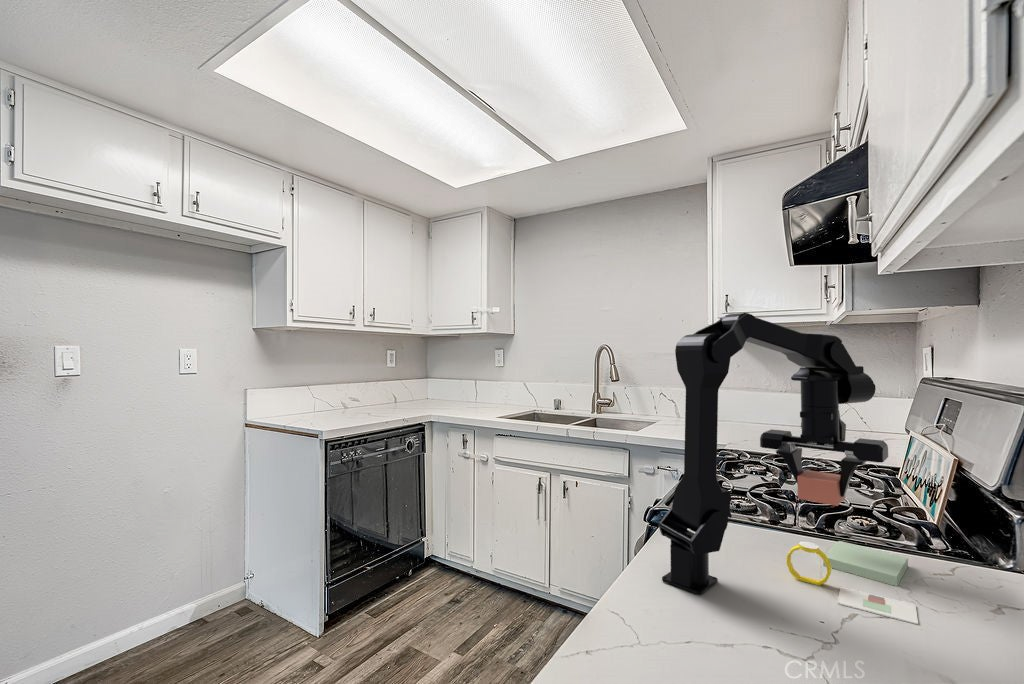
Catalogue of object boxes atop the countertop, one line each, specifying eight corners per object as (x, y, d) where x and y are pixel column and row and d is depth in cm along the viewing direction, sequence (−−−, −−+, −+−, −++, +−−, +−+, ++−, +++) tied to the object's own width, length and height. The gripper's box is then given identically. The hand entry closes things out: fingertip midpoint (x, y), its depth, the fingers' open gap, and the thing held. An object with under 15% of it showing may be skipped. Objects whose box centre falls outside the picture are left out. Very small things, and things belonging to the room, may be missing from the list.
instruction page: (918, 624, 65) (918, 623, 65) (837, 603, 71) (837, 602, 71) (915, 605, 70) (915, 604, 70) (840, 587, 75) (840, 586, 75)
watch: (830, 585, 77) (833, 548, 77) (828, 592, 75) (830, 554, 75) (788, 571, 81) (790, 536, 81) (784, 577, 79) (787, 541, 78)
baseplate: (896, 586, 76) (896, 576, 76) (823, 565, 83) (823, 556, 83) (908, 566, 83) (907, 557, 83) (839, 548, 90) (838, 540, 90)
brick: (837, 506, 83) (836, 482, 83) (797, 498, 87) (797, 476, 87) (845, 497, 87) (844, 475, 87) (807, 491, 91) (806, 469, 91)
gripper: (892, 404, 86) (894, 493, 86) (777, 398, 99) (779, 474, 99) (880, 411, 78) (883, 508, 78) (758, 403, 91) (760, 486, 91)
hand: (821, 492), depth 87 cm, fingers closed on brick, 6 cm apart
